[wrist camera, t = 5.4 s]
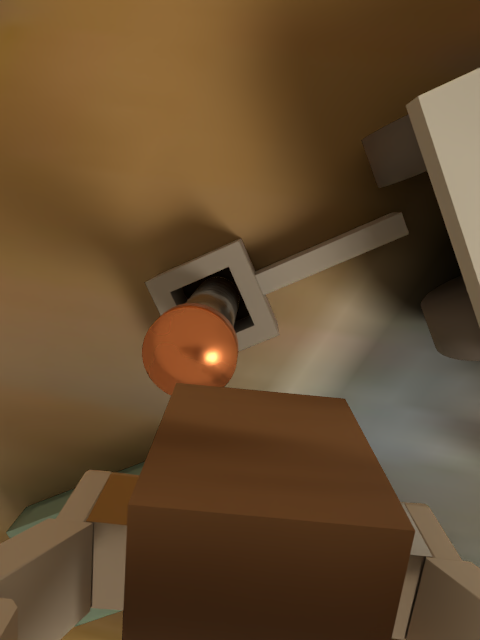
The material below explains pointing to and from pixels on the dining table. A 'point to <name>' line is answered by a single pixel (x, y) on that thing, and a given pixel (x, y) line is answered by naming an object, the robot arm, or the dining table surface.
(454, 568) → the robot arm
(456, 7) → the dining table surface
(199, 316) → the pin
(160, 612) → the block
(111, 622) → the dining table surface
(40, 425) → the dining table surface
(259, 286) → the trolley
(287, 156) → the dining table surface
